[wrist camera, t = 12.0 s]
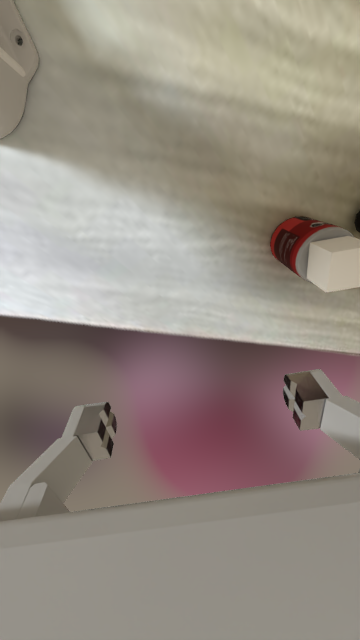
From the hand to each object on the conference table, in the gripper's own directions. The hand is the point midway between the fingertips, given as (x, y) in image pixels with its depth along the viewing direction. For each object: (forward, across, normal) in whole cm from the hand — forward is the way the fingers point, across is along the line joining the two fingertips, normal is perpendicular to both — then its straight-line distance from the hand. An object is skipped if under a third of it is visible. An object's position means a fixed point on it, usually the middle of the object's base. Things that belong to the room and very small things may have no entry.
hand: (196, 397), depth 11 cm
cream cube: (+24, -20, +4) cm, 32 cm away
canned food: (+35, -20, +4) cm, 41 cm away
